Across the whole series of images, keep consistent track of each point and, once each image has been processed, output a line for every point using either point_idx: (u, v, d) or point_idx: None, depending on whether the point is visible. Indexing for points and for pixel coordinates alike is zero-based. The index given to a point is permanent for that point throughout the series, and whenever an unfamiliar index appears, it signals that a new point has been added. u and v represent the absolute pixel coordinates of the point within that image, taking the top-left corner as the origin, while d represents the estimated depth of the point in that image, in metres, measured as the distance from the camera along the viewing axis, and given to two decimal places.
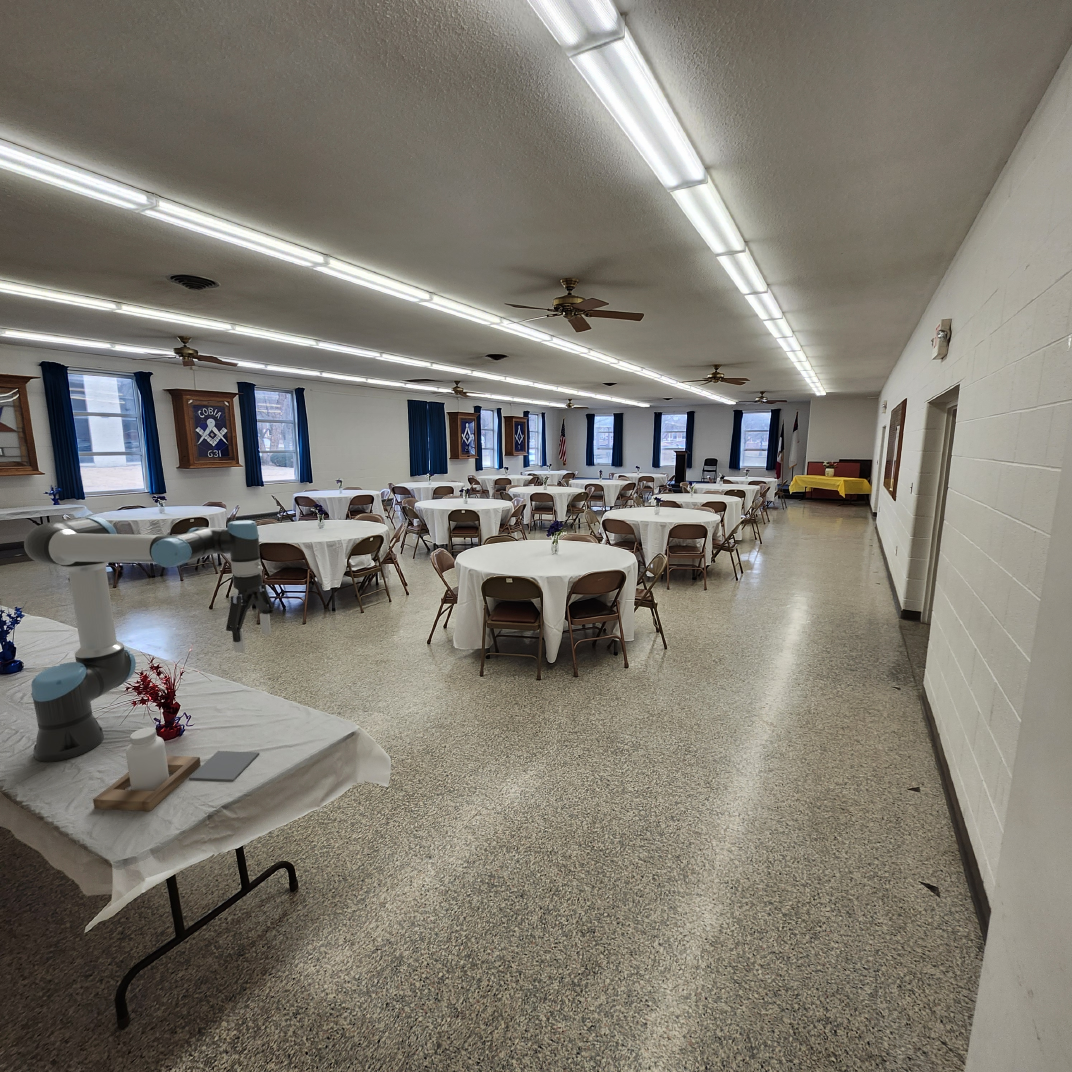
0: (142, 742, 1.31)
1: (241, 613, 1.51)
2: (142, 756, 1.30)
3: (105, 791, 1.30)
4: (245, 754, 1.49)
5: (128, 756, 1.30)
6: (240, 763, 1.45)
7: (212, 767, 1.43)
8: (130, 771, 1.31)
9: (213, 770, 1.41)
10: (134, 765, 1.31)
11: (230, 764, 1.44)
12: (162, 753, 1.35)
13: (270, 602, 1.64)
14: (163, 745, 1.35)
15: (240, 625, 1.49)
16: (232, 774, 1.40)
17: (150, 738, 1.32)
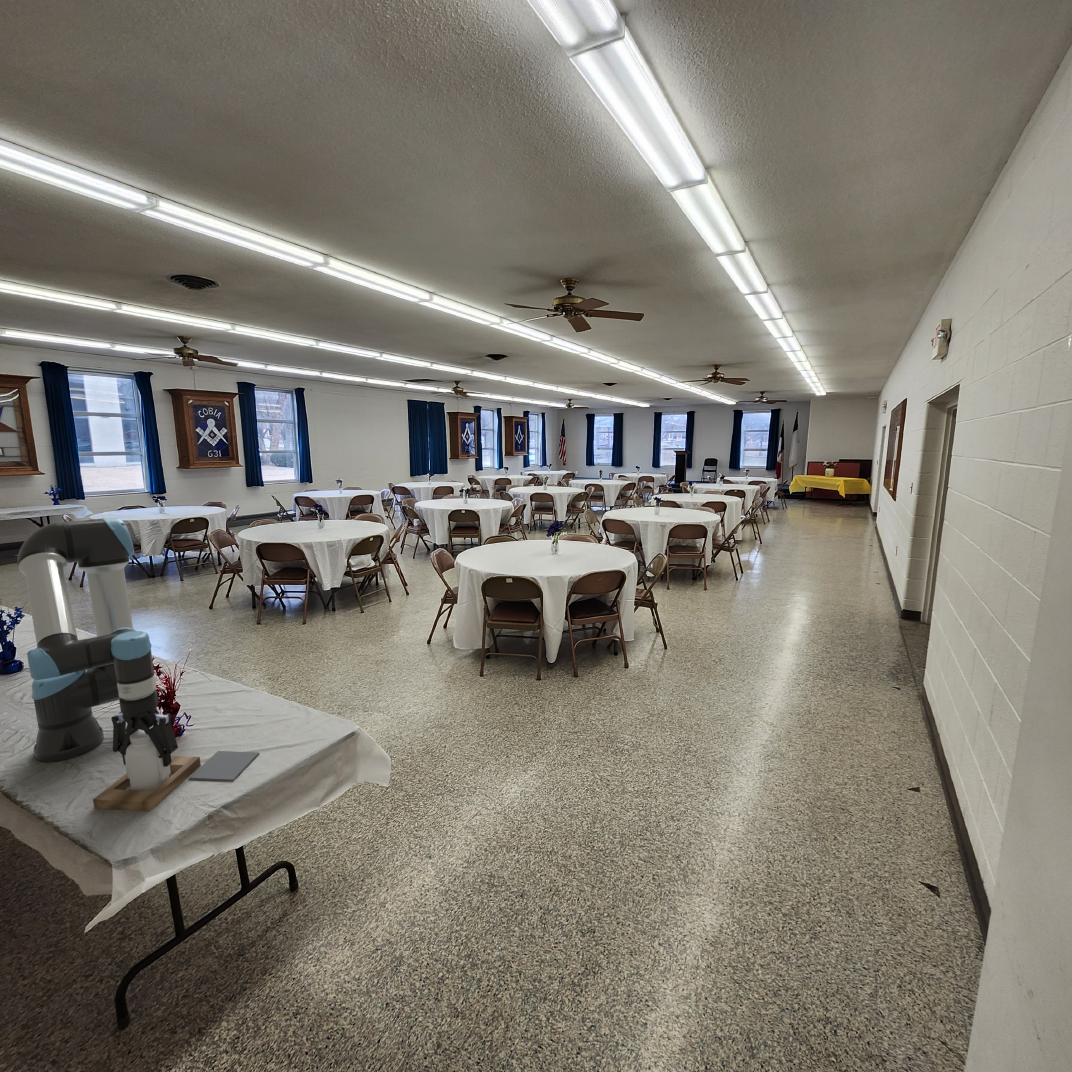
0: (142, 742, 1.31)
1: None
2: (142, 756, 1.30)
3: (105, 791, 1.30)
4: (245, 754, 1.49)
5: (128, 756, 1.30)
6: (240, 763, 1.45)
7: (212, 767, 1.43)
8: (130, 771, 1.31)
9: (213, 770, 1.41)
10: (134, 765, 1.31)
11: (230, 764, 1.44)
12: None
13: (166, 744, 1.32)
14: None
15: (122, 749, 1.33)
16: (232, 774, 1.40)
17: (150, 738, 1.32)
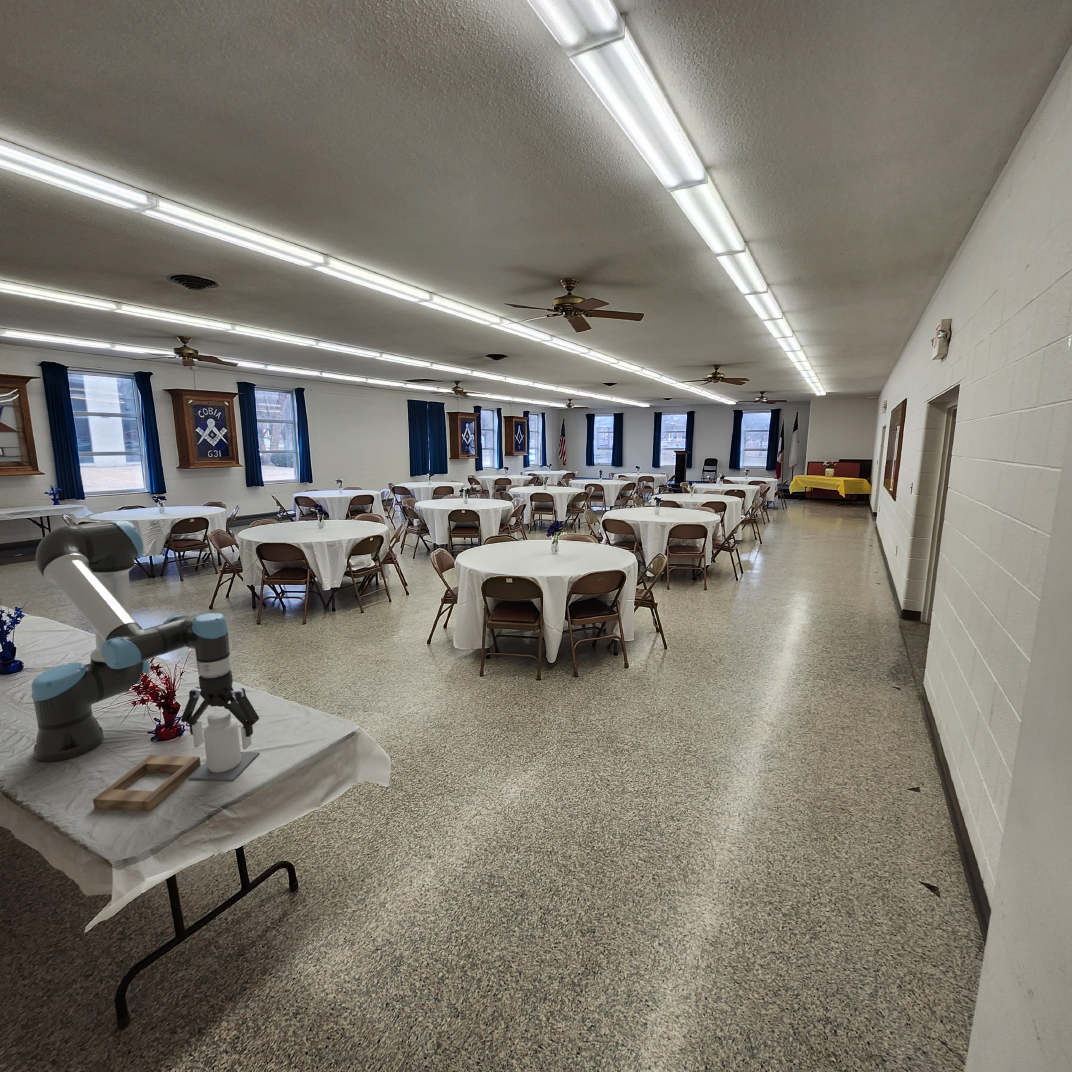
0: (219, 723, 1.39)
1: (198, 708, 1.41)
2: (219, 735, 1.39)
3: (105, 791, 1.30)
4: (245, 754, 1.49)
5: (206, 736, 1.39)
6: (240, 763, 1.45)
7: None
8: (208, 750, 1.39)
9: None
10: (212, 745, 1.39)
11: None
12: (236, 734, 1.43)
13: (247, 715, 1.40)
14: (237, 726, 1.43)
15: (191, 719, 1.41)
16: (232, 774, 1.40)
17: (226, 719, 1.40)
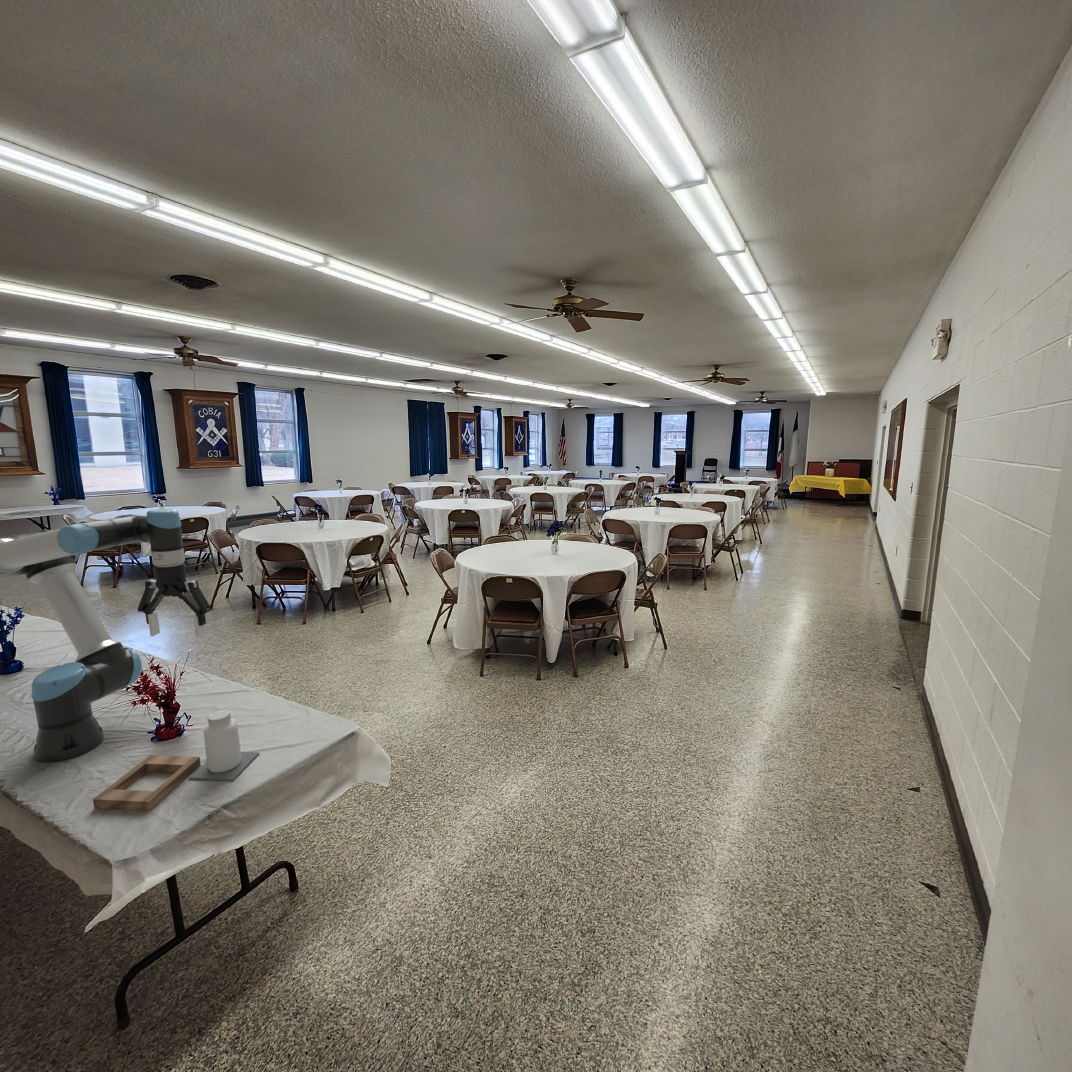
0: (219, 723, 1.39)
1: None
2: (219, 736, 1.39)
3: (105, 791, 1.30)
4: (245, 754, 1.49)
5: (206, 736, 1.38)
6: (240, 763, 1.45)
7: None
8: (208, 750, 1.39)
9: None
10: (212, 745, 1.39)
11: None
12: (236, 734, 1.43)
13: (200, 605, 1.50)
14: (237, 726, 1.43)
15: (147, 609, 1.51)
16: (232, 774, 1.40)
17: (226, 719, 1.40)
